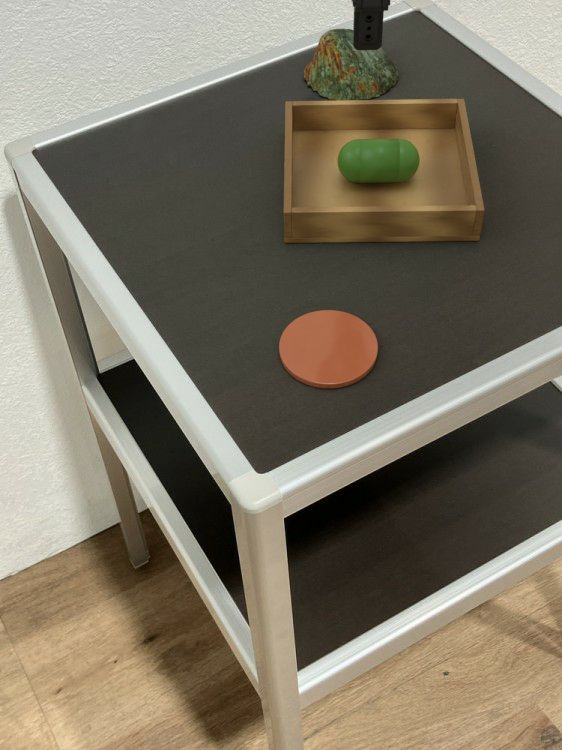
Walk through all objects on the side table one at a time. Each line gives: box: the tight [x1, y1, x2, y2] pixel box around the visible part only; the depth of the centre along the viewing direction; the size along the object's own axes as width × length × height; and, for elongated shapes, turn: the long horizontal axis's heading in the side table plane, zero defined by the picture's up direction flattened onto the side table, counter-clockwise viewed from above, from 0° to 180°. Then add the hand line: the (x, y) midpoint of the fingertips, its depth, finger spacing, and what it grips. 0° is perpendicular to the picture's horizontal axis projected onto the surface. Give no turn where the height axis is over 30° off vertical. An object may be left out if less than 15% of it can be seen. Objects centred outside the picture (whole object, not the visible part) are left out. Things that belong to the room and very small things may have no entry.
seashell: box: [303, 28, 400, 101], centre depth 102 cm, size 10×4×10 cm
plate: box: [278, 309, 379, 390], centre depth 78 cm, size 8×8×1 cm
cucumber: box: [337, 139, 420, 183], centre depth 90 cm, size 8×4×4 cm, turn 89°
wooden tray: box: [283, 98, 485, 244], centre depth 90 cm, size 17×16×4 cm
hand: (364, 18), depth 78 cm, fingers open, 8 cm apart
